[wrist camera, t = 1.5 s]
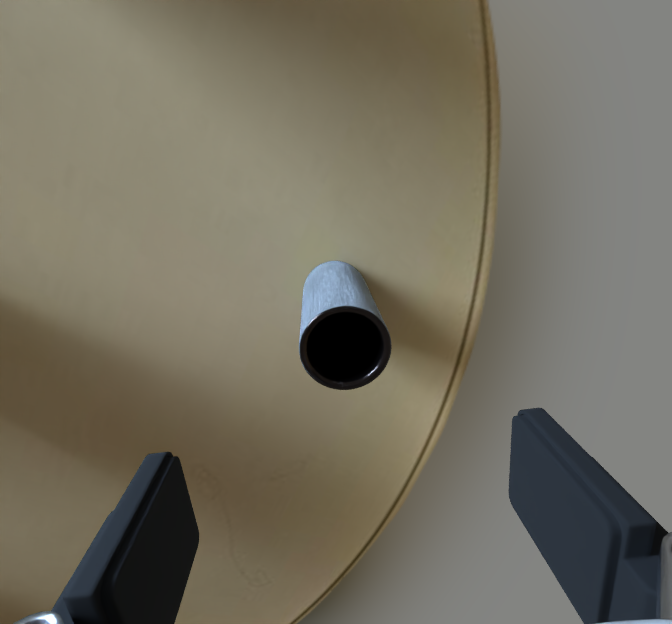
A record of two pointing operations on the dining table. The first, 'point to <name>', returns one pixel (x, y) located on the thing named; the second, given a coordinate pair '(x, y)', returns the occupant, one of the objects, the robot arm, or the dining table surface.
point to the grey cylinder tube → (341, 328)
